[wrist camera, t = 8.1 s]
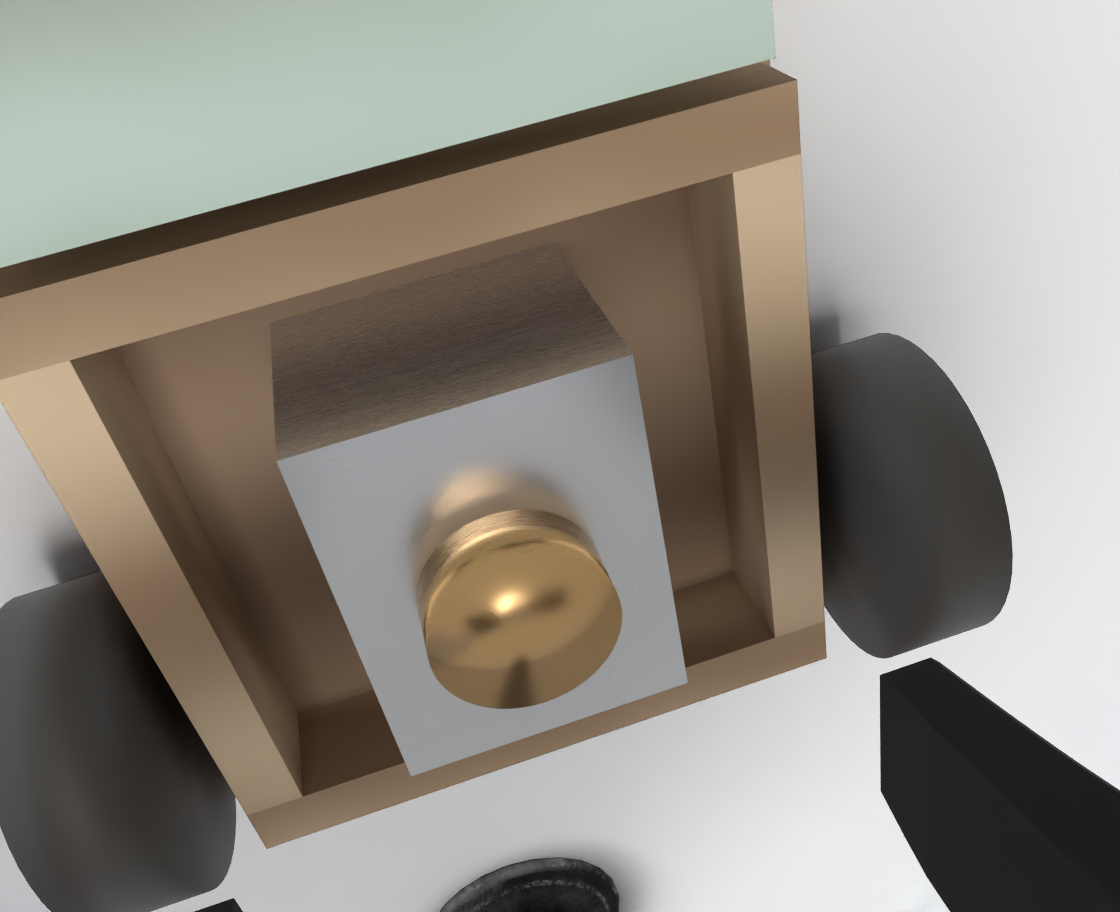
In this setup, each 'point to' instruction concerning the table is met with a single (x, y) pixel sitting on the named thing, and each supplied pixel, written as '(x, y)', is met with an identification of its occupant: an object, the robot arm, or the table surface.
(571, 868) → the salt shaker
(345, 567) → the engine block
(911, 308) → the table surface
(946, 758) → the robot arm
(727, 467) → the chassis
